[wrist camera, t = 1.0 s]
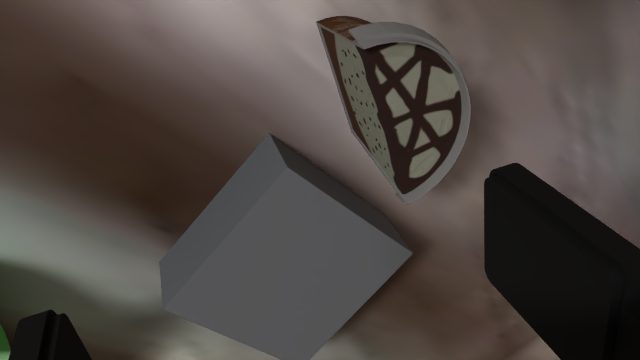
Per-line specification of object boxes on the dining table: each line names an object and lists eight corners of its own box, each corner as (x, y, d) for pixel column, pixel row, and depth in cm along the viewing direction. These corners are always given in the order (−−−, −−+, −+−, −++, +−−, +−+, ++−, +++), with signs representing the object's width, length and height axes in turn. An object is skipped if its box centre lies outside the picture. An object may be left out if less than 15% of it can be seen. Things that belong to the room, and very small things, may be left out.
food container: (423, 116, 44) (490, 173, 36) (356, 146, 44) (408, 211, 36) (389, -33, 38) (462, -5, 29) (309, 1, 37) (360, 39, 29)
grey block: (268, 131, 41) (287, 167, 36) (384, 214, 49) (413, 253, 44) (159, 259, 44) (163, 309, 39) (284, 319, 51) (301, 368, 46)
